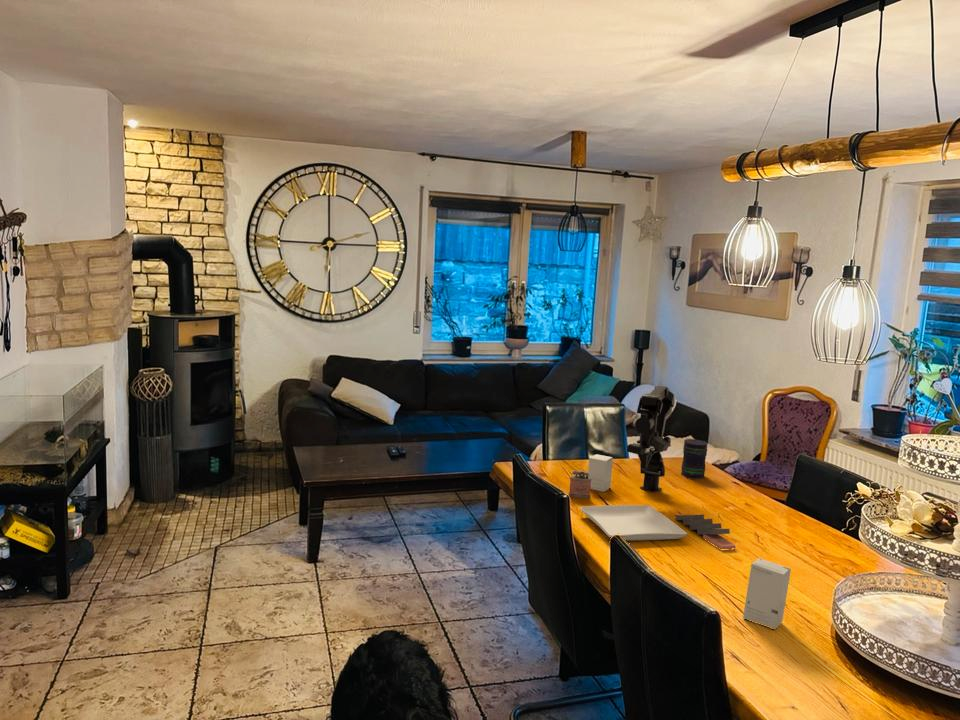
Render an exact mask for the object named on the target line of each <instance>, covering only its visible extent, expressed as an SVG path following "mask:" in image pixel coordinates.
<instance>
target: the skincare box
mask: <svg viewBox="0 0 960 720" xmlns="http://www.w3.org/2000/svg"><path fill="white" fill-rule="evenodd" d="M791 571H792V569H791V568H790V567H787V566H784V565H781V564H778V563H777V562H776V563H775V562H773V561H769V560H766V559H763V558H760V557H759V558H757V559H756V560H755V561H753V562H752V563H751V566H750V571H749V577H748V578H749V579H748V583H747V584H748V585H747V591H746V596H745V601H744V602H745V603H744V610H743V615H742V618H743V620H744V619H747V620H751V621H754V622H757V623H760V624H763V625H766V626H769V627H771V628H773V629H776V628H777V627H778V626H779V625H780V624H781V622H782V623H783V619H784V614H785V609H786V608H785V607H786V603H787V595H788V591H789V590H788V589H789V583H790V578H791V577H790V576H791ZM747 620H746V621H747ZM781 625H782V624H781ZM781 625H780V626H781ZM780 626H779V627H780ZM779 627H778V628H779ZM778 628H777V629H778ZM777 629H776V630H777Z"/></svg>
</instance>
